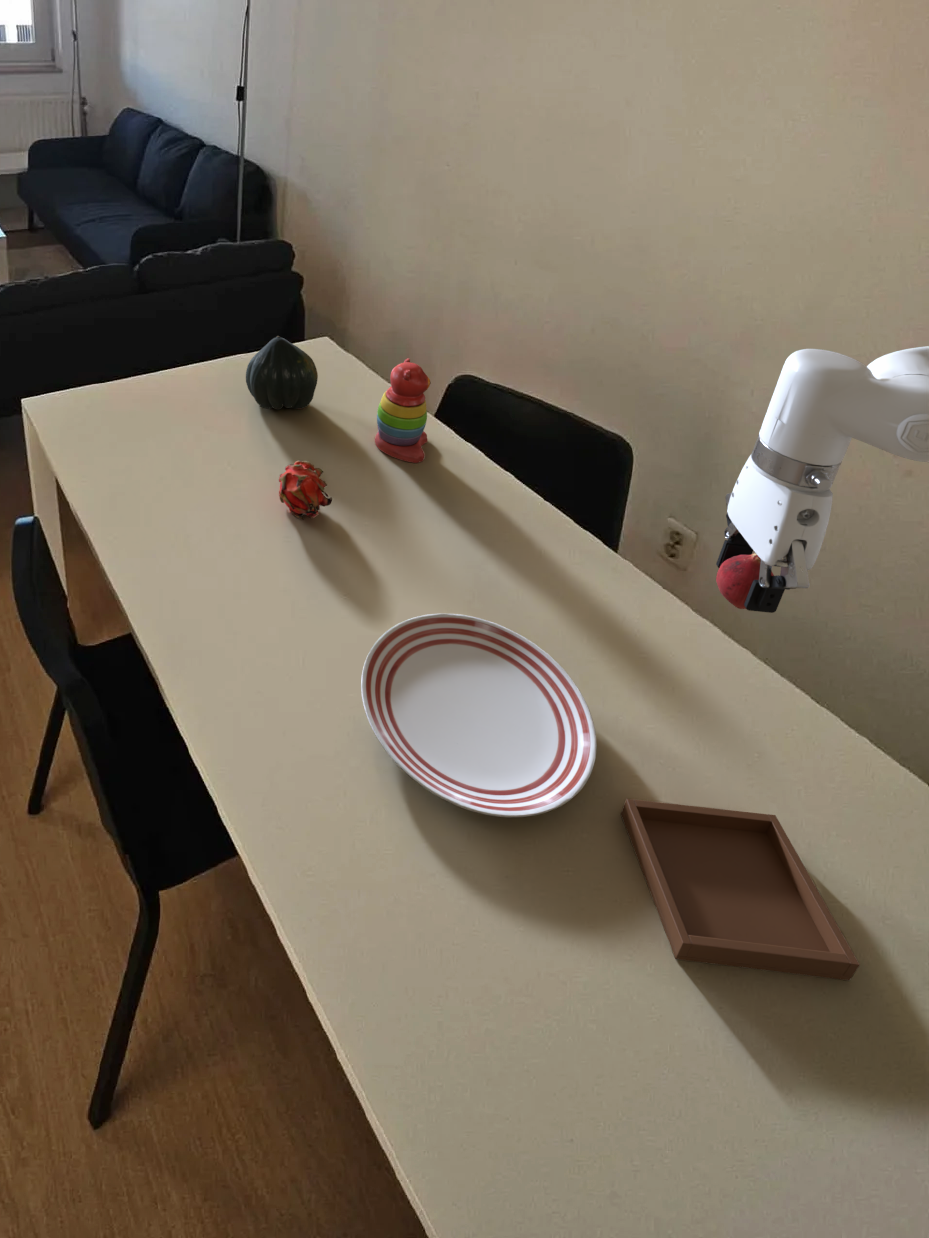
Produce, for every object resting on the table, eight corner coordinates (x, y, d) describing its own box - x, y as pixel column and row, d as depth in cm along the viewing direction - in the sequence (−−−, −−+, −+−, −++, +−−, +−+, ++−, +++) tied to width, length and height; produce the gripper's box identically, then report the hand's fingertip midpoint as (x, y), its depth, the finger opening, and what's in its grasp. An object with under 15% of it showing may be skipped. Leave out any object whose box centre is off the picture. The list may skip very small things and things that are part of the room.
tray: (767, 830, 82) (775, 814, 81) (849, 980, 70) (860, 964, 69) (620, 813, 83) (626, 798, 82) (675, 959, 71) (683, 943, 70)
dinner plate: (540, 890, 76) (547, 869, 75) (316, 723, 92) (318, 704, 91) (620, 711, 95) (626, 692, 94) (423, 599, 111) (426, 582, 110)
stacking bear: (423, 465, 143) (437, 382, 135) (369, 454, 145) (380, 372, 138) (427, 436, 152) (441, 357, 145) (377, 426, 155) (388, 348, 148)
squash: (309, 408, 150) (318, 335, 154) (235, 399, 153) (247, 328, 157) (314, 421, 163) (323, 354, 167) (246, 413, 166) (256, 347, 170)
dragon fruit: (294, 490, 137) (312, 542, 127) (259, 472, 133) (275, 525, 123) (326, 459, 134) (347, 510, 124) (291, 440, 130) (310, 491, 120)
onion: (717, 618, 89) (737, 565, 85) (702, 584, 94) (721, 532, 91) (773, 629, 87) (796, 576, 84) (755, 594, 92) (776, 542, 89)
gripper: (885, 514, 74) (821, 650, 81) (786, 421, 90) (740, 542, 97) (803, 507, 75) (748, 643, 82) (719, 416, 90) (679, 536, 98)
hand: (744, 587), depth 89 cm, fingers closed on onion, 5 cm apart
